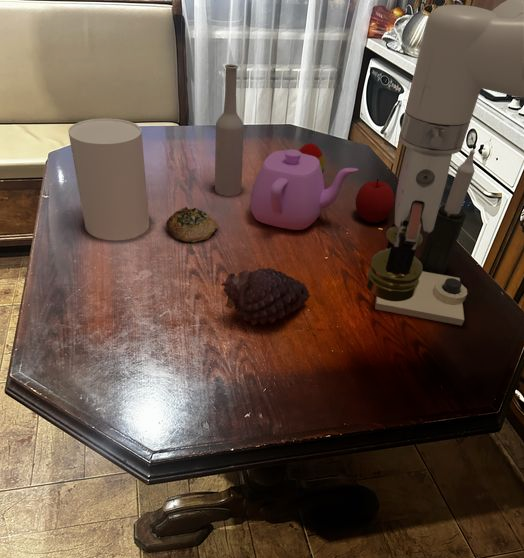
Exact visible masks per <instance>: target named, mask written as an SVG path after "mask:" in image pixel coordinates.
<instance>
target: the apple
mask: <svg viewBox="0 0 524 558" xmlns="http://www.w3.org/2000/svg"><path fill="white" fill-rule="evenodd" d="M394 208H395V194H394V191H393V189H392V188H391V186H390V185H389V184H388V183H387V182H385V181H381V180H379V178H376V180H372V181H371V180H370V181H368V182H364V184H363V185H362V186H361V187H360V188H359V190H358V191H357V194H356V197H355V209H356V211H357V214H358V215H359V217H360V218H361V219H362V220H365V221H366V222H368V223H373V224H374V223H375V224H376V223H380V222H383V221H384V220H385V219H387V218H388V217H389V216H390V215H391V213H392V212H393V209H394Z"/></svg>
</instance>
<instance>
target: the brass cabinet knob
mask: <svg viewBox="0 0 524 558" xmlns="http://www.w3.org/2000/svg"><path fill="white" fill-rule="evenodd" d="M397 230H398V228H397V227H396V226H395V227H392V226H391V227H390V228H388V229H387V230H386V233H385V238H386V239H387V242H388V241H389V242H390V243H391V244H394V243H395V239H396V234H397ZM405 234H406V231H405V230H402V234H401V237H402V235H404V236H405ZM423 239H424V236H423V235H422V233H421V232H420V233H419V237H418V241H417V245H416V248H417V247H419V246H420V245H421V244H422V243H423ZM390 250H391V247H390V248H387V247H386V248H384V249H381V250H379V251H377V252H375V253H374V254H373V255H372V256H371V259H370V261H369V262H370V263H369V265H370V267H369V268H368V271H367V278H366V282H365V284H366V288H367V289H368V291H369V292H370V293H371V294H372V295H374V296H375V297H376V296H377V297H379V298H381V299H384V300H388V301H405V300H408V299H410V298H411V297H413V295H414V294H415V291H416V288H417V285H418V284H419V277H420V276H421V274H422V271H423V267H422V264H421V262H420V259H419V258H418V257H417V256H416V255H414V258H413V262H412V265H411V268H410V272H409V274H407V275H406V274H400V273H393V272H388V271H386V265H387V261H388V257H389V253H390Z"/></svg>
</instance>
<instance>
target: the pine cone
mask: <svg viewBox="0 0 524 558" xmlns="http://www.w3.org/2000/svg"><path fill="white" fill-rule="evenodd" d="M220 285H221V287H224V288H223V292H224V293H225V294H226V296H227V299H226V303H225V306H226V307H227V308H228V309H231V308H234V309H235V311H237V312H238V314H239V315H240V316H241V317H243V320H244V321H246V322H250V324H251V325H254V326H255V325H257V324H258V323H260V325H266V323H267V322H270V323H271V324H274V323H275V322H276V321H277V319H279V320H282V319H284V317H287V316H289V314H290V313H294V312H295V311H297V309H298V308H300V307H302V305H305V303H306V302H307V301H309V298H310V297H311V295H310V290H309V289H308V287H307V286H306V283H303V282H301V281H300V280H299V279H295V278H294V277H292V276H289V275H287V274H286V273H285V272H282V271H280V270H276V269H275V268H271V267H267V268H263V267H262V268H258V269H256V270H252V271H250V270H249V269H245V270H242V271H239V273H238V274H237V276H236V274H235V273H229V275H227V278H226V279H225V281H223V282H222V283H221V284H220Z"/></svg>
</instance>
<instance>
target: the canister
mask: <svg viewBox="0 0 524 558" xmlns="http://www.w3.org/2000/svg"><path fill="white" fill-rule="evenodd" d="M67 133H68V137H69V143H70V144H69V145H70V148H71V153H72V160H73V165H74V171H75V176H76V182H77V187H78V194H79V198H80V204H81V211H82V216H83V221H84V227H85V230H86V232H87V233H88V234H89V235H90V236H92V237H94V238H97V239H100V240H106V241H125V240H131V239H135V238H137V237H139V236H142V235H143V234H144V233H146V232H147V231H148V229H149V227H150V214H149V213H150V212H149V204H148V203H149V201H148V192H147V191H148V190H147V180H146V169H145V168H146V167H145V166H146V165H145V156H144V144H143V143H144V142H143V132H142V128H141V127H140V126H139V125H138V124H137V123H135V122H132V121H130V120H126V119H122V118H121V119H120V118H112V117H111V118H110V117H103V118H101V117H100V118H98V117H97V118H91V119H86V120H82V121H79V122H76V123H74V124H73V125H70V127H69V128H68V132H67Z"/></svg>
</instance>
